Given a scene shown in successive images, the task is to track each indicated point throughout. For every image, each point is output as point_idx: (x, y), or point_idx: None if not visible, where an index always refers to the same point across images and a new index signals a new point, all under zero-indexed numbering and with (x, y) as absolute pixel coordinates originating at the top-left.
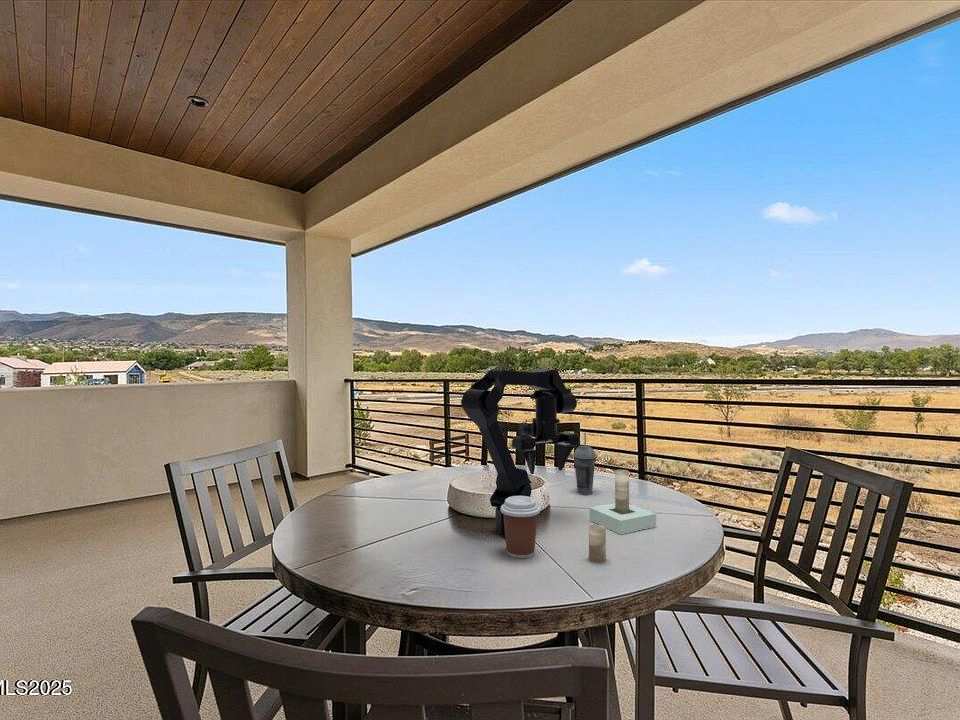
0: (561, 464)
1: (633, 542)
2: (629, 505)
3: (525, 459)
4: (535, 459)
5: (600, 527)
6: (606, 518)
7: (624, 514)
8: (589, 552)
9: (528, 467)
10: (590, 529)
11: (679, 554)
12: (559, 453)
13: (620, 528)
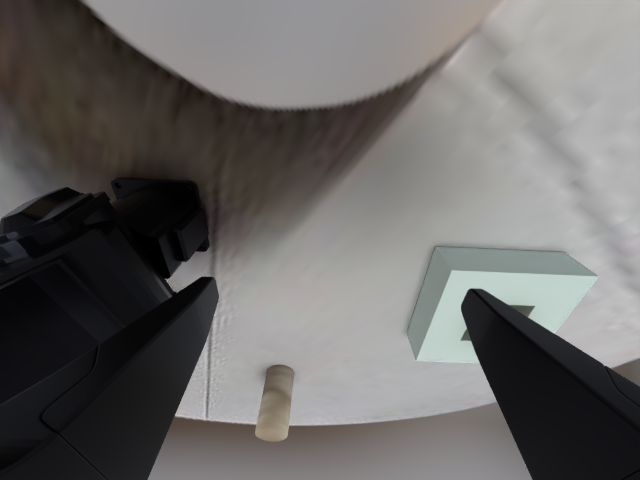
0: (482, 357)
1: (391, 359)
2: (563, 307)
3: (65, 368)
4: (153, 464)
5: (277, 435)
6: (425, 318)
7: (466, 342)
8: (265, 381)
9: (161, 307)
10: (255, 431)
11: (404, 402)
12: (602, 441)
13: (410, 343)
